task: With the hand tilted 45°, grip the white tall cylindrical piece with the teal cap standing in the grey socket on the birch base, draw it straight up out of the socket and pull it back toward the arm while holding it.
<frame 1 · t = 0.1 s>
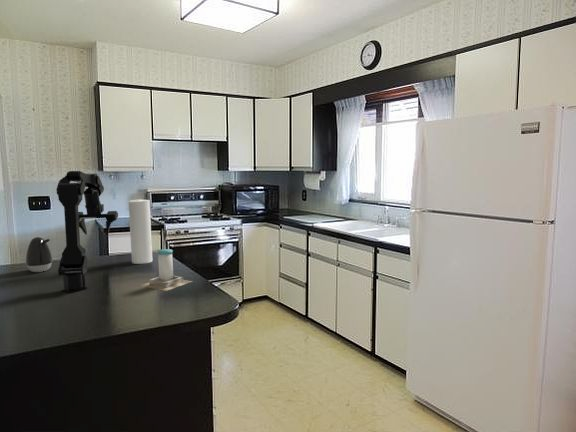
hand: (97, 234, 186), 15 cm above the countertop, tool pointing down, fingers open, 9 cm apart
housing: (166, 284, 160), on the countertop
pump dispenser: (40, 271, 182), on the countertop
white tall cylindrical piece: (166, 283, 159), resting on housing
cylinder container: (142, 261, 199), on the countertop
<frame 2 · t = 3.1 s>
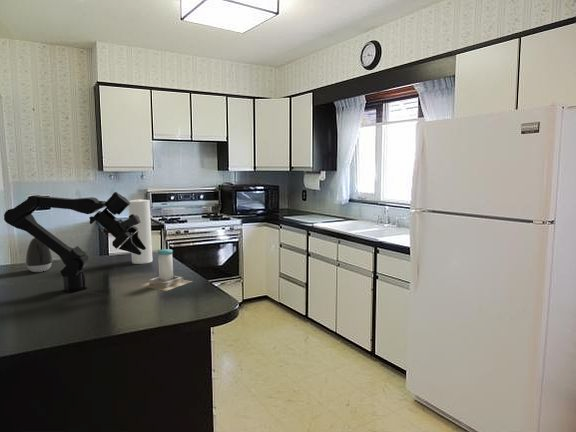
hand: (142, 251, 157), 13 cm above the countertop, tool tilted 45°, fingers open, 9 cm apart
nothing on the countertop moved.
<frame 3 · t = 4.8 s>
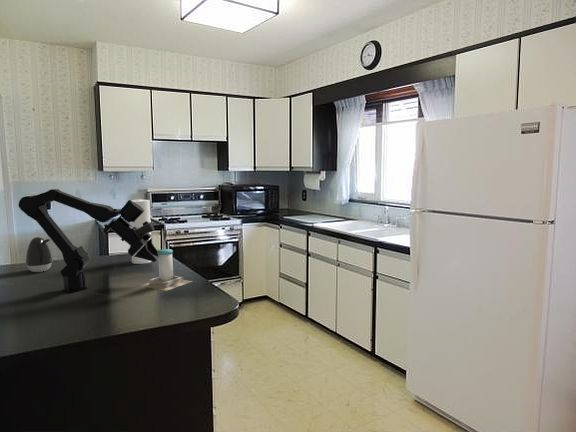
hand: (157, 258, 158), 11 cm above the countertop, tool tilted 45°, fingers open, 9 cm apart
nothing on the countertop moved.
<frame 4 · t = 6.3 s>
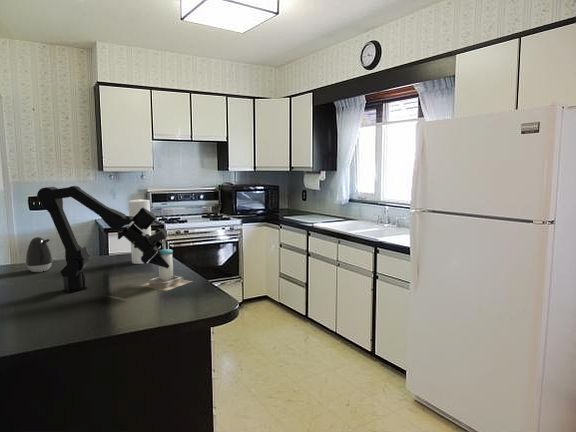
hand: (169, 265, 159), 8 cm above the countertop, tool tilted 45°, fingers closed on white tall cylindrical piece, 5 cm apart
white tall cylindrical piece: (166, 283, 159), point 1 cm above the countertop, touching gripper, housing
everything else where it was.
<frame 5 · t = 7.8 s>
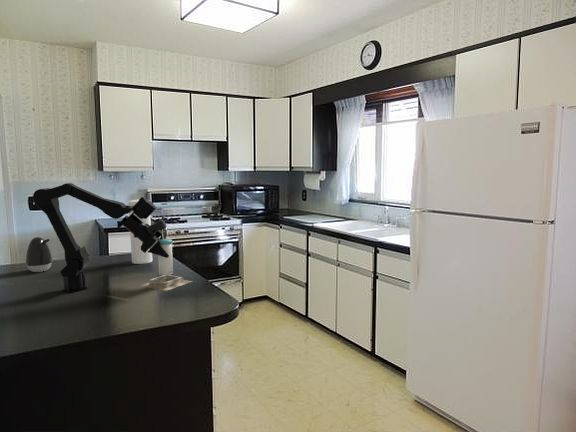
hand: (169, 255, 158), 12 cm above the countertop, tool tilted 45°, fingers closed on white tall cylindrical piece, 5 cm apart
white tall cylindrical piece: (166, 273, 159), point 4 cm above the countertop, touching gripper
everything else where it was.
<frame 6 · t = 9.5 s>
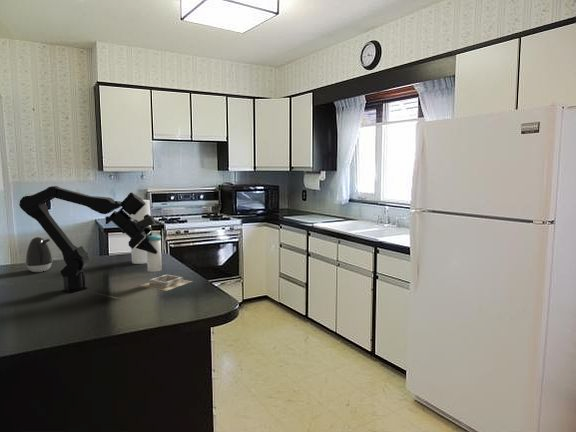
hand: (157, 251, 157), 13 cm above the countertop, tool tilted 45°, fingers closed on white tall cylindrical piece, 5 cm apart
white tall cylindrical piece: (154, 269, 158), point 6 cm above the countertop, touching gripper
everything else where it was.
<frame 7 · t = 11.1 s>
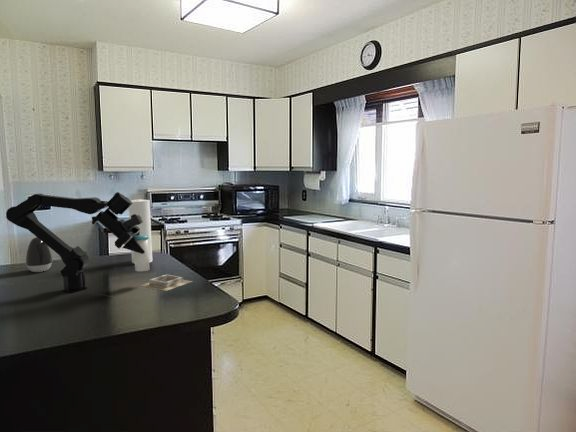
hand: (145, 251, 157), 14 cm above the countertop, tool tilted 45°, fingers closed on white tall cylindrical piece, 5 cm apart
white tall cylindrical piece: (142, 269, 157), point 6 cm above the countertop, touching gripper
everything else where it was.
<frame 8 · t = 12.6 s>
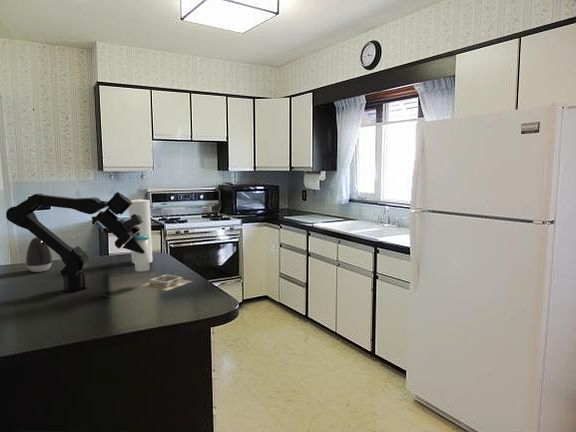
hand: (145, 251, 157), 14 cm above the countertop, tool tilted 45°, fingers closed on white tall cylindrical piece, 5 cm apart
white tall cylindrical piece: (142, 269, 157), point 6 cm above the countertop, touching gripper
everything else where it was.
at the end: white tall cylindrical piece point 6.4 cm above the countertop; the gripper is holding white tall cylindrical piece; white tall cylindrical piece touching gripper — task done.
